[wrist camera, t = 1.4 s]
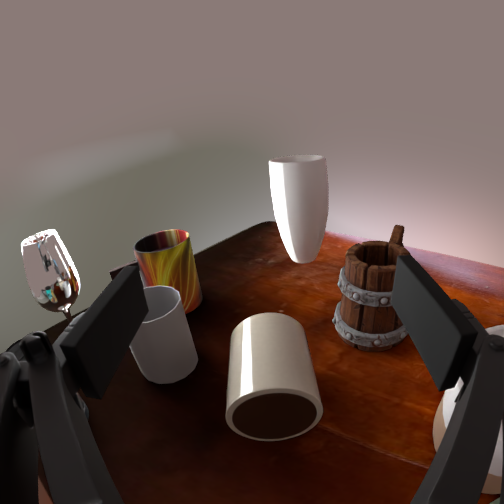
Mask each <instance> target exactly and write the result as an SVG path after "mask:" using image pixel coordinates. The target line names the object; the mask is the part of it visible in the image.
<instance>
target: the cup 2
mask: <svg viewBox="0 0 504 504" xmlns="http://www.w3.org/2000/svg"><path fill="white" fill-rule="evenodd" d="M326 167H327V166H326V159H325V157H323V156H319V155H291V156H283V157H278V158H274V159H271V160H270V161H269V169H270V184H271V194H272V200H273V207H274V214H275V218H276V222H277V225H278V228H279V231H280V235H281V238H282V240H283V243H284V245H285V247H286V249H287V252H288V253H289V255H290V257H291V259H292V260H293V261H294V262H297V263H309V262H312V261H314V260H315V259H316V256H317V254H318V252H319V250H320V247H321V244H322V240H323V237H324V234H325V228H326V222H327V216H328V177H327V168H326Z"/></svg>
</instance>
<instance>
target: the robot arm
mask: <svg viewBox="0 0 504 504" xmlns="http://www.w3.org/2000/svg"><path fill="white" fill-rule="evenodd" d="M390 303H391V304H392V306H393V308H394V310H395V311H396V313H397V315H398V316H399V318H400V320H401V321H402V323H403V325H404V327H405V328H406V330H407V332H408V334H409V336H410V337H411V339H412V341H413V343H414V344H415V346H416V348H417V350H418V352H419V354H420V355H421V357H422V359H423V361H424V363H425V365H426V367H427V369H428V371H429V373H430V374H431V376H432V378H433V380H434V382H435V384H436V386H437V388H438V390H439V391H443V390H447V389H451V388H455V386H456V384H457V382H458V379H459V377H460V378H461V379H462V381H463V383H464V384H463V386H462V388H461V390H460V392H459V393H458V395H457V397H456V399H455V401H454V402H455V403H456V405H455V408H454V410H453V413H452V416H451V419H450V421H449V424H448V426H447V429H446V431H445V434H444V436H443V439H442V441H441V443H440V446H439V448H438V450H437V452H436V455H435V457H434V459H433V461H432V463H431V465H430V467H429V469H428V471H427V473H426V475H425V477H424V479H423V481H422V483H421V485H420V487H419V489H418V491H417V492H416V494H415V496H414V498H413V499H412V501H411V503H410V504H477V503H478V500H479V498H480V495H481V492H482V489H483V487H484V484H485V481H486V478H487V475H488V472H489V469H490V465H491V462H492V458H493V455H494V451H495V447H496V443H497V439H498V435H499V431H500V426H501V422H502V432H503V462H502V482H501V493H500V503H499V504H504V338H503V337H501V336H499V335H494V334H491V335H489V333H488V332H487V331H486V330H485V329H484V327H483V326H482V325H481V324H480V322H479V321H478V320H477V319H476V318H474V315H473V314H472V313H470V311H469V310H468V308H467V307H466V306H465V305H464V304H463V303H461V302H459V301H458V300H456V299H450V298H449V296H448V295H447V294H446V293H445V292H444V291H443V290H442V288H441V287H440V286H439V285H438V284H437V283H436V282H435V281H434V279H433V278H432V277H431V276H430V275H429V274H428V273H427V272H426V271H425V270H424V269H423V267H422V266H421V265H420V264H419V263H418V262H417V261H416V260H415V259H414V258H413V257H412V256H411V255H400V256H397V264H396V271H395V278H394V284H393V290H392V296H391V302H390ZM148 312H149V309H148V305H147V301H146V297H145V293H144V289H143V285H142V281H141V277H140V272H139V268H138V266H125V267H124V268H123V269H122V270H121V271H120V272H119V273H118V275H117V276H116V277H115V278H114V279H113V280H112V281H111V283H110V284H109V285H108V286H107V287H106V288H105V289H104V291H103V292H102V293H101V294H100V295H99V297H98V298H97V299H96V300H95V301H94V302H93V304H92V305H91V306H90V307H89V308H88V310H87V311H86V312H83V313H81V314H80V315H78V316H77V317H75V318H74V319H73V320H72V322H71V323H70V324H69V326H67V328H66V329H65V330H64V332H63V333H62V334H61V335H60V336H59V338H58V339H57V340H56V341H55V343H54V344H53V345H51V343H50V341H49V339H48V337H47V335H46V333H45V332H43V331H35V332H32V333H30V334H28V335H26V336H25V337H24V338H22V340H21V341H20V343H19V347H20V349H21V351H22V353H23V355H24V357H25V359H26V360H27V361H17V359H16V357H15V355H14V353H12V352H5V353H1V354H0V504H39V502H38V501H39V500H38V445H39V449H40V454H41V458H42V462H43V466H44V470H45V474H46V478H47V481H48V485H49V488H50V491H51V495H52V498H53V501H54V504H124V502H123V500H122V498H121V497H120V495H119V493H118V491H117V489H116V487H115V485H114V483H113V481H112V479H111V476H110V474H109V472H108V470H107V468H106V466H105V463H104V461H103V459H102V457H101V454H100V452H99V449H98V447H97V445H96V442H95V440H94V437H93V434H92V432H91V429H90V426H89V424H88V421H87V418H86V415H85V412H84V410H83V407H82V404H81V400H80V398H79V396H78V395H77V392H78V390H79V388H80V387H81V389H82V390H83V392H84V394H85V396H86V397H91V398H96V399H102V397H103V395H104V393H105V391H106V389H107V387H108V385H109V383H110V381H111V379H112V377H113V375H114V373H115V372H116V370H117V368H118V366H119V364H120V362H121V360H122V358H123V357H124V355H125V353H126V351H127V349H128V347H129V346H130V344H131V342H132V340H133V338H134V337H135V335H136V333H137V331H138V329H139V328H140V326H141V324H142V322H143V321H144V319H145V317H146V315H147V314H148ZM13 402H14V403H13Z"/></svg>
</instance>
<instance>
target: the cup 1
mask: <svg viewBox="0 0 504 504" xmlns="http://www.w3.org/2000/svg"><path fill="white" fill-rule="evenodd" d="M144 293H145V297H146V301H147V305H148V309H149V312H148V314H147V315H146V317H145V319H144V321H143V322H142V324H141V326H140V328H139V329H138V331H137V333H136V335H135V337H134V338H133V340H132V342H131V344H130V349H131V351H132V353H133V355H134V358H135V360H136V362H137V364H138V366H139V368H140V370H141V372H142V374H143V375H144V376H145V377H146V379H147V380H149V381H152V382H155V383H158V384H165V383H174V382H176V381H179V380H181V379H183V378H186V377H187V376H188V375H189V374H190V373H191V372H192V371H193V370H194V369H195V367H196V364H197V362H198V357H197V353H196V350H195V346H194V343H193V340H192V336H191V333H190V330H189V326H188V323H187V319H186V316H185V312H184V308H183V305H182V301H181V298H180V294H179V291H177V290H175V289H174V288H172V287H168V286H153V287H146V288H144Z"/></svg>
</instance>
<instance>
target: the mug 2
mask: <svg viewBox="0 0 504 504" xmlns="http://www.w3.org/2000/svg"><path fill="white" fill-rule="evenodd" d="M403 233H404V227H403V226H400V225H395V226H394V229H393V232H392V235H391V238H390V241H389V242H384V241H367V242H362V245H361V244H359V243H358V244H356V245H353V246H352V247H351V248H350V249H348V250H347V252H346V260H345V266H344V267H343V268H342V269H341V272H340V275H339V282H338V286H339V287H340V290H341V292H342V300H341V301H340V302H339V303H338V304H337V307H336V310H335V314H334V318H333V320H332V321H333V323H334V324H335V327H336V330H337V331H338V335H339V336H340V337H341V338H342V340H343V341H344V342H345V343H347V344H349V345H350V346H352V347H356V346H358V349H360V350H364V351H384V350H387V349H390V348H392V345H393V346H396V345H398V344H399V343H400V342H402V341H403V339H404V337H405V336H407V334H408V332H407V330H406V328H405V327H404V325H403V323H402V321H401V320H400V318H399V316H398V315H397V313H396V311H395V310H394V308H393V306H392V304H391V303H390V302H391V296H392V290H393V284H394V278H395V271H396V264H397V256H400V255H410V253H409V252H408V251H407V249H405V248H404V246H403V243H402V239H403Z"/></svg>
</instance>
